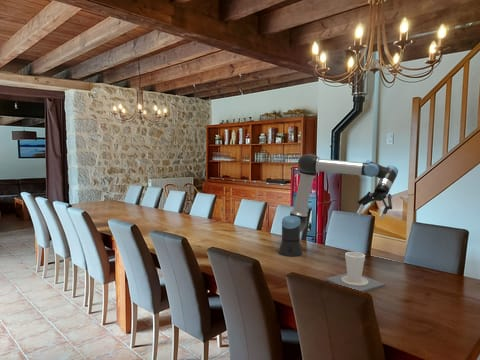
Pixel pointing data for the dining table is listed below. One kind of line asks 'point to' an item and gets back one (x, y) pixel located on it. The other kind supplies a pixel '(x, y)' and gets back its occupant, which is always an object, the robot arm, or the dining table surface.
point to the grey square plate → (362, 286)
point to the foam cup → (354, 265)
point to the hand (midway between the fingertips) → (368, 215)
